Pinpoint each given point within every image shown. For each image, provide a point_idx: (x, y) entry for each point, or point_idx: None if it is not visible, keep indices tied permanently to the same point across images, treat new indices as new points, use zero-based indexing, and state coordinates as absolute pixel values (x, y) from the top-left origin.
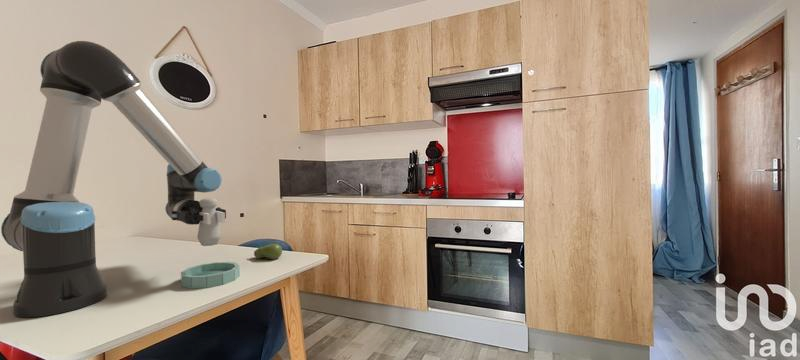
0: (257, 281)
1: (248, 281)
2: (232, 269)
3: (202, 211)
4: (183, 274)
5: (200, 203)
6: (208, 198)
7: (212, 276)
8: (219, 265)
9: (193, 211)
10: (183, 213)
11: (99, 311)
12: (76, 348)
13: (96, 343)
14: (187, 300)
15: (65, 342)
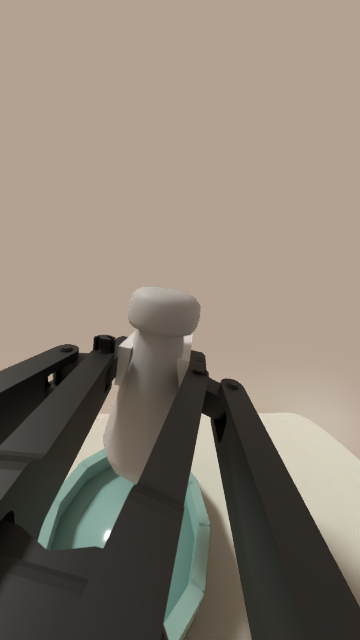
0: (106, 419)
1: None
2: None
3: (182, 350)
4: (204, 533)
5: (199, 315)
6: (168, 290)
7: None
8: None
9: (184, 437)
10: (255, 413)
11: (349, 533)
12: (302, 419)
13: (289, 415)
14: (212, 440)
15: (323, 440)
